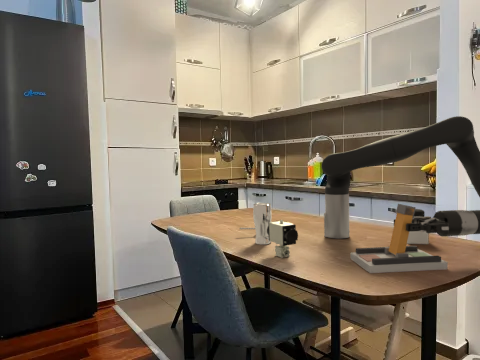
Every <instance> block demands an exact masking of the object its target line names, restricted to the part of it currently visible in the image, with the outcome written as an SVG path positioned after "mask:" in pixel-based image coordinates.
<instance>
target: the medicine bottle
mask: <svg viewBox="0 0 480 360" xmlns="http://www.w3.org/2000/svg"><path fill="white" fill-rule="evenodd" d="M414 216H423V217H425V216H426V215H425V210H423V209H421V208H419V209H418V208H415V213H414ZM414 216H413V217H414ZM429 234H430V233H426V232H421V231H410V232H409V236H408V240H407V245H429V244H430V241H429V240H430V238H429V237H430V235H429Z"/></svg>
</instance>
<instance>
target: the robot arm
mask: <svg viewBox="0 0 480 360" xmlns="http://www.w3.org/2000/svg"><path fill="white" fill-rule="evenodd" d="M474 128H475V127H474V125H473V122H472V121H471V119H469V118H467V117H465V116H462V115H461V116H459V115H458V116H452V117H448V118H445V119H443V120H441V121H439V122H436V123H434V124H430V125H428V126H426V127H423V128H419V129H416V130H415V129H414V130H412V131H408V132H404V133H401V134H397V135H393V136H390V137H386V138H383V139H380V140H376V141H374V142H372V143H368V144H365V145H364V146H361V147H358V148H356V149H352V150H347V151H343V152H337V153H330V154H328V155H327V156H325V157H324V159H323V160H322V163H321V170H322V172H323V173H324V174H325V175H326V176H327V180H326V185H325V187H324V199H325V201H324V208H325V209H324V211H325V212H324V214H323V222H324V223H323V227H324V228H323V230H324V231H323V235H324V238H330V239H339V240H340V239H347V238H350V194H349V193H350V187H351V172H352V171H355V170H359V169H362V168H363V169H364V168H372V167H379V166H384V165H389V164H392V163H393V164H395V163H397V162H401V161H403V160H406V159H408V158H409V159H410V158H411V157H412V156H414V155H416V154H418V153H420V152H422V151H424V150H427V149H429V148H433V147H437V146H438V147H439V146H441V145H446V146H448V148H449V149H450V150H451V151H452V153H453V154H454V155H455V156H456V157H457V159H458V161H460V163H461V165H462V167H463V168H464V170H465V173H466V175H467V176H468V178H469V181H470V182H471V184H472V186H473V188H474V190H475V192H476V194H477V196H478V197H479V198H480V148H479V146H478V144H477V141H476V137H475V131H474V130H475V129H474ZM395 219H396V218H395ZM395 219H393V225H394V224H395ZM406 231H409V232H410V231H421V232H426V233H429V234H437V235H438V236H440V237H458V236H459V237H460V236H469V235H480V209H474V210H472V209H471V210H466V209H465V210H464V209H455V210H454V209H452V210H450V209H449V210H438V211H436V212H435V213H434V215H433V217H432V216H429V215H428V216H427V215H425V217H423V216H414V217H412V222H411V223H407V224H406Z"/></svg>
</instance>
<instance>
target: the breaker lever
mask: <svg viewBox="0 0 480 360" xmlns="http://www.w3.org/2000/svg"><path fill="white" fill-rule="evenodd" d="M415 209H417V208H416V207H415V206H411V205H407V204H401V203H397V206H396V211H395V212H396V216H395V224H394V223H393V229H392V233H391V239H390V242H389V246H388V247H389V252H390V253H391V254H393V255H395V256H396V253H405V249H406V246H408V244H407V240H408V236H409V231H406V224H407V223H411V222H412V217H413V216H414V213H415Z"/></svg>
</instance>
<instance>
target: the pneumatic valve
mask: <svg viewBox="0 0 480 360" xmlns="http://www.w3.org/2000/svg"><path fill="white" fill-rule="evenodd" d="M298 233H299V232H298V230H297V225H296V224H294V223H292V222H288V221H287V222H286V221H284V220H283V219H280V220H276V221H271V222H268V227H267V234H268V235H269V241H271V243H275V246H274V248H275V249H274V251H275V253H274V255H275V256H276V257H278V258H281V259H283V258H286V257H287V258H289V257H290V252H291V251H290V246H291V245H296V244H297V241H298V238H299V234H298Z"/></svg>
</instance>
